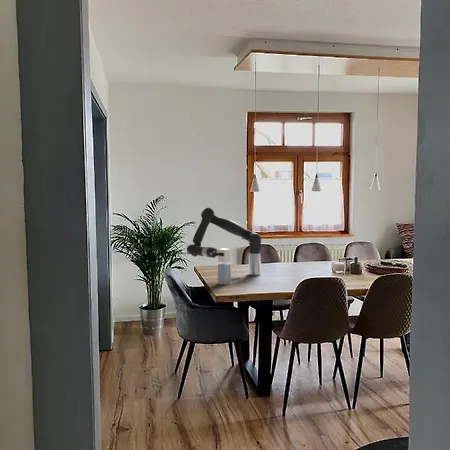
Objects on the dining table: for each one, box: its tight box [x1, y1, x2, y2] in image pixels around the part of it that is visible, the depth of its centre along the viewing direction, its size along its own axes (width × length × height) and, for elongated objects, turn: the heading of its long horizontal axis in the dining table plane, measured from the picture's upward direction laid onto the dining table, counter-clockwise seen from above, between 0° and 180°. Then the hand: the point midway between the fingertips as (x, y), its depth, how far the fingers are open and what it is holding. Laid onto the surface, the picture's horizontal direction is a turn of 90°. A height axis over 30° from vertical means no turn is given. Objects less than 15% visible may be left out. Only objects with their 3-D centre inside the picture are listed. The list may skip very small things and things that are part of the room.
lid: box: [217, 247, 232, 263], centre depth 335 cm, size 6×6×9 cm
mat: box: [231, 275, 241, 281], centre depth 354 cm, size 12×12×1 cm
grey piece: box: [217, 262, 232, 286], centre depth 336 cm, size 6×6×14 cm
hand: (226, 254), depth 333 cm, fingers closed on lid, 6 cm apart
